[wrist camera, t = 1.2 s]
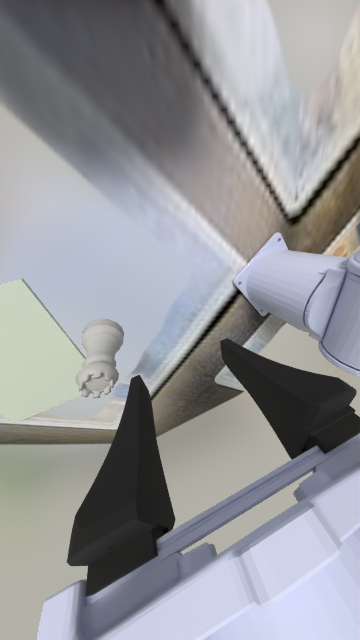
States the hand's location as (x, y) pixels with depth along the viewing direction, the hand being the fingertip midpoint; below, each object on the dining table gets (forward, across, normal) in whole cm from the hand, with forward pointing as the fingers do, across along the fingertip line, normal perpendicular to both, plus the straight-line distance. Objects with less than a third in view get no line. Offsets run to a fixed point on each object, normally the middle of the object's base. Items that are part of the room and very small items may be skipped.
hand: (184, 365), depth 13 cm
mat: (+9, +16, 0) cm, 19 cm away
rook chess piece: (+10, +7, 0) cm, 12 cm away
